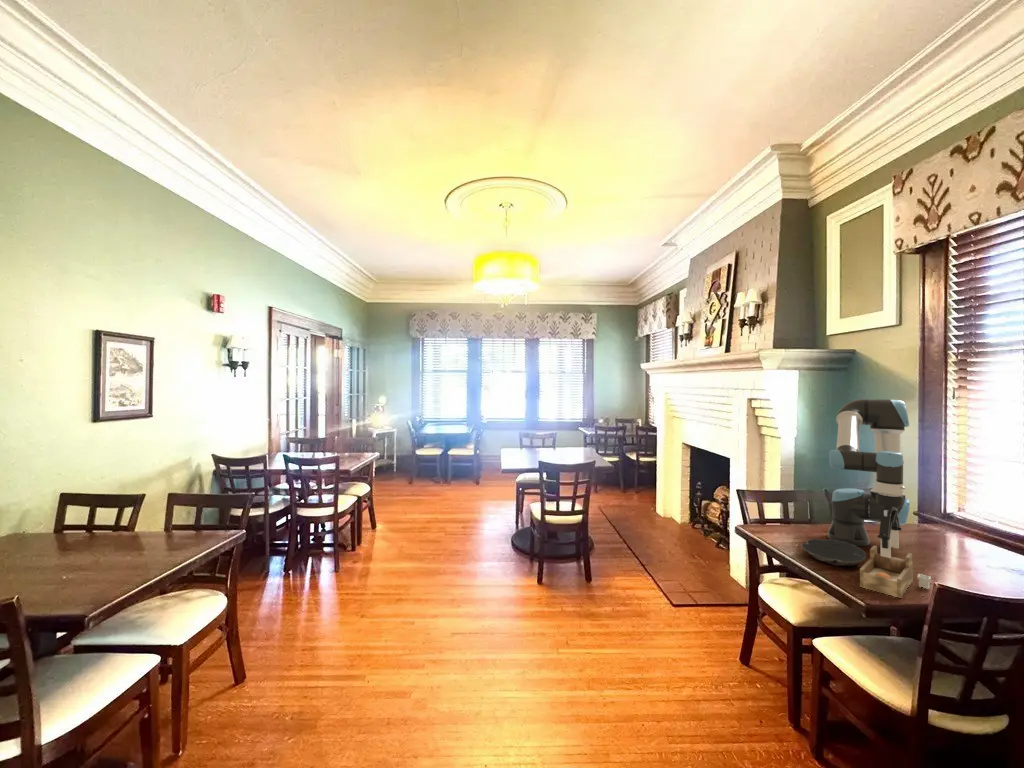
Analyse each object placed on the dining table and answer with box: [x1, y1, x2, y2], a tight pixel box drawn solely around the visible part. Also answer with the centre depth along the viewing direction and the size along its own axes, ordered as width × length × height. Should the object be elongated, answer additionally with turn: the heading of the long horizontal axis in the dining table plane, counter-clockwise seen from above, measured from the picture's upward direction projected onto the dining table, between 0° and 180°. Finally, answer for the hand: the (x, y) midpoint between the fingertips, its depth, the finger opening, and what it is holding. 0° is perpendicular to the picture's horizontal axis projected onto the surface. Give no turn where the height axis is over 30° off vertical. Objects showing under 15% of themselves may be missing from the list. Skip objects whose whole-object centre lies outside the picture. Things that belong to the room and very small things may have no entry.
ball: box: [876, 572, 892, 579], centre depth 154 cm, size 5×5×5 cm
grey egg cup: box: [916, 573, 932, 590], centre depth 155 cm, size 3×3×4 cm
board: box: [801, 538, 867, 567], centre depth 179 cm, size 22×22×5 cm
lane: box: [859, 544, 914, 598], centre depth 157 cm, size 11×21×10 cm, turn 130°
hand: (889, 552), depth 160 cm, fingers open, 13 cm apart
